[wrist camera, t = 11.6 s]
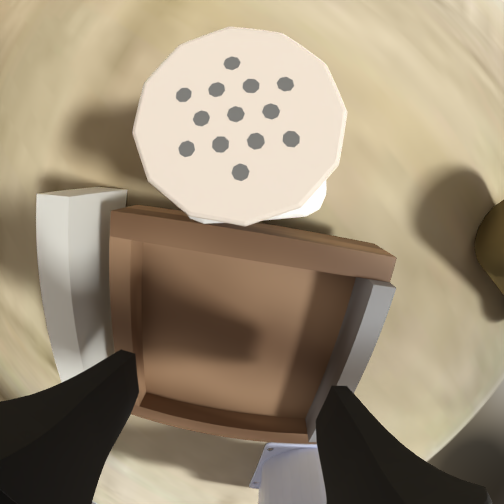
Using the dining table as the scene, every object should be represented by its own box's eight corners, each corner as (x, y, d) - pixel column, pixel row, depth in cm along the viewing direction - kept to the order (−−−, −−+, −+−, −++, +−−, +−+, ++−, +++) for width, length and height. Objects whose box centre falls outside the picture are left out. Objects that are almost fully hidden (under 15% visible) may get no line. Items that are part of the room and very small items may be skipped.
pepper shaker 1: (210, 126, 12) (113, 35, 3) (293, 120, 12) (351, 9, 3) (216, 206, 13) (122, 262, 4) (299, 200, 13) (380, 245, 4)
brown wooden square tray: (311, 400, 16) (320, 451, 12) (146, 373, 16) (121, 418, 12) (363, 237, 13) (403, 262, 9) (148, 202, 13) (102, 212, 9)
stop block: (128, 371, 16) (98, 420, 11) (104, 363, 16) (70, 407, 11) (127, 189, 13) (69, 196, 8) (97, 186, 13) (36, 193, 8)
